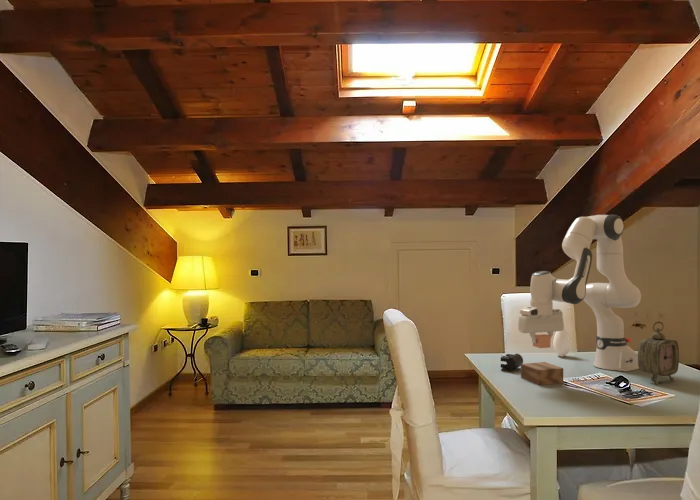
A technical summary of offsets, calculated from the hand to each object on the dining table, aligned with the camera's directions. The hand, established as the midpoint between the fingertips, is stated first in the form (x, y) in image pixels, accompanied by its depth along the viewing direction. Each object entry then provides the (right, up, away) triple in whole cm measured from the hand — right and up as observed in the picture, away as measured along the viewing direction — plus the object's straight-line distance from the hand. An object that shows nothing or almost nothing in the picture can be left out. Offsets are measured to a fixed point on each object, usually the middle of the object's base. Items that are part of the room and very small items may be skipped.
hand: (541, 342), depth 216 cm
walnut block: (0, -16, 0) cm, 16 cm away
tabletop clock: (+47, -16, -3) cm, 50 cm away
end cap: (-6, -16, +19) cm, 26 cm away
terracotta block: (0, -2, 0) cm, 2 cm away
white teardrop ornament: (+27, -16, +46) cm, 56 cm away
